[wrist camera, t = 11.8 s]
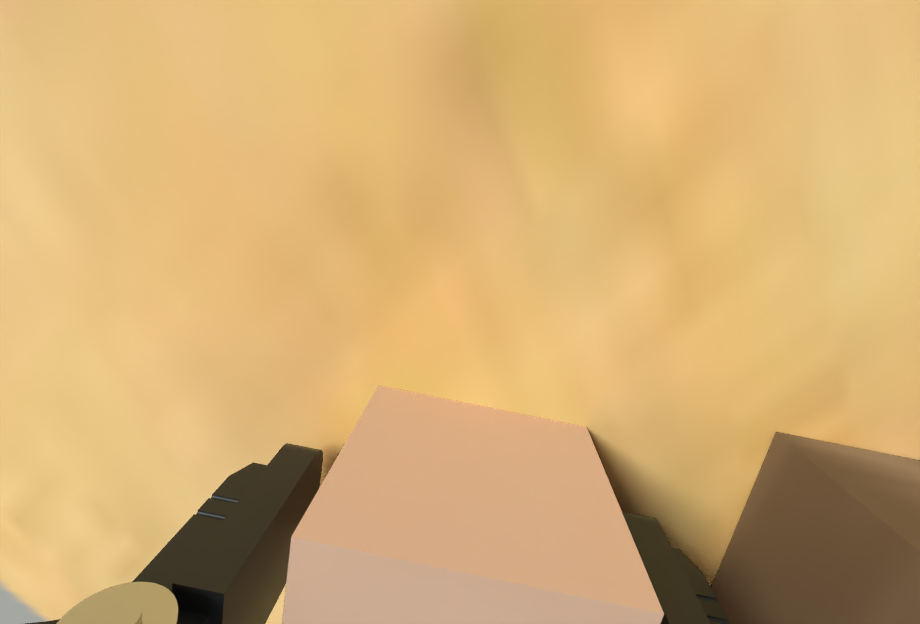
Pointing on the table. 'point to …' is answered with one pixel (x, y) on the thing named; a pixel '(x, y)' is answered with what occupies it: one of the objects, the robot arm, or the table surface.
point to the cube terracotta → (465, 524)
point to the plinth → (825, 539)
